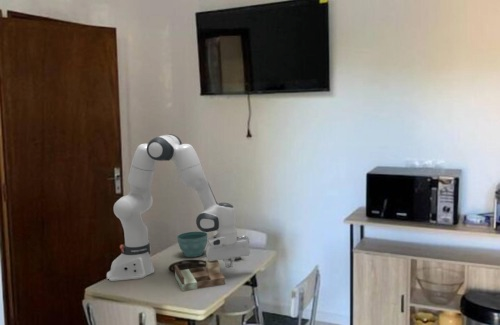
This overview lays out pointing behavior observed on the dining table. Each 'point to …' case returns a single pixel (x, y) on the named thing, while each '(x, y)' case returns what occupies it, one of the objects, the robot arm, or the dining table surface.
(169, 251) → the dining table surface
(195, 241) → the flower pot
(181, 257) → the dining table surface
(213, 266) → the maple block
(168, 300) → the dining table surface
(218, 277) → the box
